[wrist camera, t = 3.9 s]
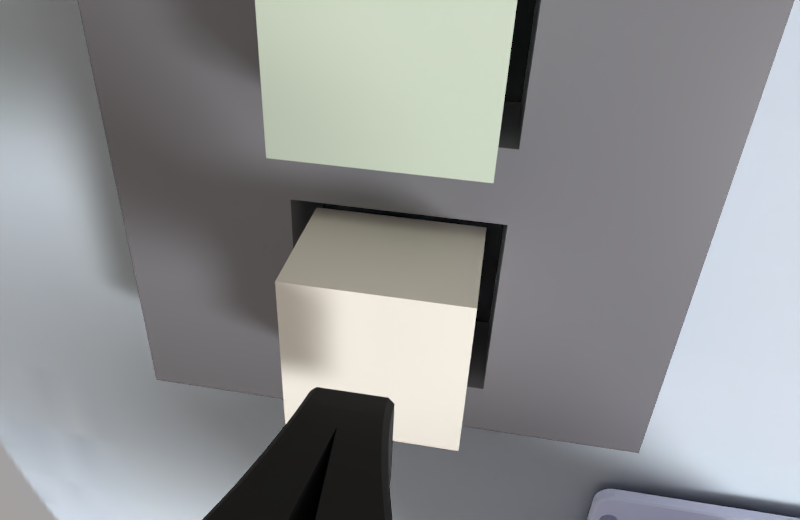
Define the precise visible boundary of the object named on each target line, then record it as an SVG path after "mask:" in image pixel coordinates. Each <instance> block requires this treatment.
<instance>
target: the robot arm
mask: <svg viewBox="0 0 800 520" xmlns="http://www.w3.org/2000/svg"><path fill="white" fill-rule="evenodd" d="M394 405H395V404H394V403H393V402H392V401H391V400H390V399H389V398H388V397H381V396H374V395H368V394H361V393H354V392H347V391H341V390H334V389H327V388H320V387H316V388H314V389H312V390H311V391H310V392H309V393H308V395H307V396H306V398H305V399H304V401H303V402H302V403H301V405H300V406H299V408H298V409H297V410H296V412H295V413H294V414H293V416H292V417H291V418H290V420H289V421H288V422H287V424H286V425H285V426H284V427H283V429H282V430H281V431H280V433H279V434H278V435H277V436H276V438H275V439H274V440H273V441H272V442H271V444H270V445H269V446H268V447H267V449H266V450H265V451H264V452H263V453H262V455H261V456H260V457H259V458H258V459H257V460H256V462H255V463H254V464H253V465H252V466H251V467H250V469H249V470H248V471H247V472H246V473H245V474H244V475H243V477H242V478H241V479H240V480H239V481H238V482H237V484H236V485H235V486H234V487H233V488H232V489H231V490H230V491H229V492H228V493H227V494H226V495H225V496H224V498H223V499H222V500H221V501H220V502H219V503H218V504H217V505H216V506H215V507H214V508H213V509H212V510H211V511H210V512H209V513H208V514H207V515H206V516H205V517H204V518H203V519H202V520H392V511H391V499H390V488H389V485H390V478H391V463H392V443H393V424H394ZM587 520H800V518H795V517H789V516H782V515H776V514H770V513H763V512H757V511H751V510H744V509H738V508H732V507H726V506H719V505H713V504H707V503H700V502H694V501H688V500H681V499H675V498H669V497H663V496H656V495H650V494H644V493H637V492H631V491H625V490H618V489H604V490H601V491H599V492H598V493H596V495H595V496H594V498H593V502H592V505H591V508H590V511H589V515H588V518H587Z"/></svg>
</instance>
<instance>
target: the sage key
mask: <svg viewBox="0 0 800 520" xmlns="http://www.w3.org/2000/svg"><path fill="white" fill-rule="evenodd" d="M516 7H517V0H255V9H256V23H257V37H258V51H259V65H260V79H261V93H262V107H263V121H264V135H265V149H266V158H270V159H279V160H288V161H297V162H306V163H315V164H324V165H333V166H342V167H351V168H360V169H369V170H378V171H387V172H396V173H405V174H414V175H423V176H432V177H441V178H450V179H459V180H468V181H477V182H486V183H494V176H495V168H496V160H497V153H498V145H499V137H500V130H501V122H502V114H503V107H504V99H505V91H506V84H507V76H508V69H509V61H510V53H511V46H512V38H513V30H514V23H515V15H516Z"/></svg>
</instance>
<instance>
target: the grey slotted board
mask: <svg viewBox="0 0 800 520" xmlns="http://www.w3.org/2000/svg"><path fill="white" fill-rule="evenodd" d="M793 3H794V0H536V3H535V10H534V17H533V24H532V31H531V38H530V45H529V52H528V59H527V65H526V72H525V79H524V86H523V93H522V100H521V102H511V101H504V107H503V114H502V122H501V130H500V137H499V145H498V153H497V160H496V168H495V176H494V183H486V182H477V181H468V180H459V179H450V178H441V177H432V176H423V175H414V174H405V173H396V172H387V171H378V170H369V169H360V168H351V167H342V166H333V165H324V164H315V163H306V162H297V161H288V160H279V159H270V158H266V149H265V135H264V121H263V107H262V93H261V79H260V65H259V51H258V37H257V23H256V9H255V0H78V4H79V8H80V13H81V18H82V23H83V28H84V32H85V37H86V42H87V47H88V52H89V56H90V61H91V66H92V71H93V76H94V80H95V85H96V90H97V95H98V100H99V104H100V109H101V114H102V119H103V124H104V129H105V133H106V138H107V143H108V148H109V153H110V157H111V162H112V167H113V172H114V177H115V181H116V186H117V191H118V196H119V201H120V205H121V210H122V215H123V220H124V225H125V229H126V234H127V239H128V244H129V249H130V253H131V258H132V263H133V268H134V273H135V277H136V282H137V287H138V292H139V297H140V301H141V306H142V311H143V316H144V321H145V326H146V330H147V335H148V340H149V345H150V350H151V354H152V359H153V364H154V369H155V374H156V378H157V380H162V381H169V382H176V383H182V384H189V385H195V386H202V387H208V388H215V389H222V390H228V391H235V392H241V393H248V394H254V395H261V396H268V397H274V398H281V399H283V386H282V372H281V358H280V344H279V330H278V316H277V302H276V288H275V281H276V279H277V277H278V276H279V274H280V272H281V270H282V268H283V267H284V265H285V263H286V261H287V259H288V258H289V256H290V254H291V252H292V250H293V249H294V247H295V245H296V243H297V241H298V240H299V238H300V236H301V234H302V233H303V231H304V229H305V227H306V225H307V224H308V222H309V220H310V218H311V216H312V215H313V213H314V211H315V209H316V207H318V208H323V203H325V204H333V205H342V206H350V207H359V208H367V209H376V210H384V211H393V212H401V213H410V214H418V215H427V216H435V217H444V218H452V219H461V220H469V221H478V222H486V223H495V224H503V231H502V238H501V245H500V252H499V259H498V265H497V272H496V279H495V286H494V293H493V300H492V307H491V314H490V321H489V323H486V322H479V321H475V329H474V336H473V344H472V352H471V359H470V367H469V374H468V382H467V390H466V397H465V405H464V413H463V420H462V426H465V427H471V428H478V429H484V430H491V431H497V432H504V433H511V434H517V435H524V436H530V437H537V438H543V439H550V440H557V441H563V442H570V443H576V444H583V445H589V446H596V447H603V448H609V449H616V450H622V451H629V452H635V453H639V450H640V447H641V444H642V442H643V439H644V436H645V433H646V430H647V427H648V424H649V421H650V418H651V415H652V413H653V410H654V407H655V404H656V401H657V398H658V395H659V392H660V389H661V386H662V383H663V381H664V378H665V375H666V372H667V369H668V366H669V363H670V360H671V357H672V354H673V352H674V349H675V346H676V343H677V340H678V337H679V334H680V331H681V328H682V325H683V322H684V320H685V317H686V314H687V311H688V308H689V305H690V302H691V299H692V296H693V293H694V291H695V288H696V285H697V282H698V279H699V276H700V273H701V270H702V267H703V264H704V261H705V259H706V256H707V253H708V250H709V247H710V244H711V241H712V238H713V235H714V232H715V230H716V227H717V224H718V221H719V218H720V215H721V212H722V209H723V206H724V203H725V200H726V198H727V195H728V192H729V189H730V186H731V183H732V180H733V177H734V174H735V171H736V169H737V166H738V163H739V160H740V157H741V154H742V151H743V148H744V145H745V142H746V139H747V137H748V134H749V131H750V128H751V125H752V122H753V119H754V116H755V113H756V110H757V107H758V105H759V102H760V99H761V96H762V93H763V90H764V87H765V84H766V81H767V78H768V76H769V73H770V70H771V67H772V64H773V61H774V58H775V55H776V52H777V49H778V46H779V44H780V41H781V38H782V35H783V32H784V29H785V26H786V23H787V20H788V17H789V15H790V12H791V9H792V6H793Z"/></svg>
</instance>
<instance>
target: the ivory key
mask: <svg viewBox="0 0 800 520" xmlns="http://www.w3.org/2000/svg"><path fill="white" fill-rule="evenodd" d="M486 228H487V227H478V226H470V225H461V224H453V223H444V222H436V221H428V220H419V219H411V218H402V217H394V216H385V215H377V214H369V213H360V212H352V211H343V210H335V209H326V208H318V207H316V209H315V211H314V213H313V215H312V216H311V218H310V220H309V222H308V224H307V225H306V227H305V229H304V231H303V233H302V234H301V236H300V238H299V240H298V241H297V243H296V245H295V247H294V249H293V250H292V252H291V254H290V256H289V258H288V259H287V261H286V263H285V265H284V267H283V268H282V270H281V272H280V274H279V276H278V277H277V279H276V281H275V288H276V302H277V316H278V330H279V344H280V358H281V372H282V386H283V400H284V414H285V424H287V422H288V421H289V420H290V418H291V417H292V416H293V414H294V413H295V412H296V410H297V409H298V408H299V406H300V405H301V403H302V402H303V401H304V399H305V398H306V396H307V395H308V393H309V392H310V391H311V390H312V389H314V388H316V387H320V388H327V389H334V390H341V391H347V392H354V393H361V394H368V395H374V396H381V397H388V398H389V399H390V400H391V401H392V402H393V403H394V404H395V405H394V424H393V441H397V442H404V443H410V444H416V445H423V446H429V447H436V448H442V449H448V450H455V451H459V443H460V436H461V428H462V420H463V413H464V405H465V397H466V390H467V382H468V374H469V367H470V359H471V352H472V344H473V336H474V329H475V321H476V313H477V305H478V297H479V288H480V279H481V271H482V262H483V254H484V245H485V236H486Z"/></svg>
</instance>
